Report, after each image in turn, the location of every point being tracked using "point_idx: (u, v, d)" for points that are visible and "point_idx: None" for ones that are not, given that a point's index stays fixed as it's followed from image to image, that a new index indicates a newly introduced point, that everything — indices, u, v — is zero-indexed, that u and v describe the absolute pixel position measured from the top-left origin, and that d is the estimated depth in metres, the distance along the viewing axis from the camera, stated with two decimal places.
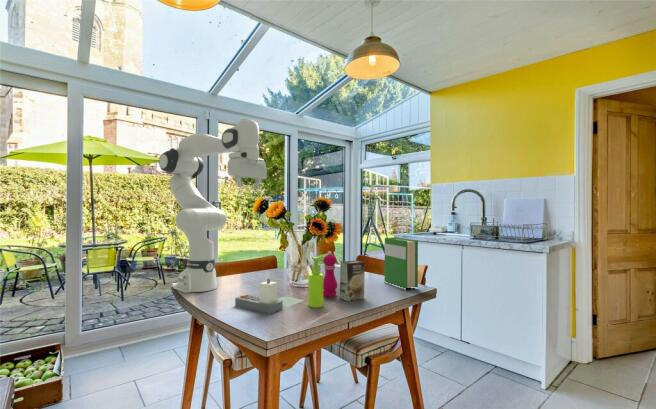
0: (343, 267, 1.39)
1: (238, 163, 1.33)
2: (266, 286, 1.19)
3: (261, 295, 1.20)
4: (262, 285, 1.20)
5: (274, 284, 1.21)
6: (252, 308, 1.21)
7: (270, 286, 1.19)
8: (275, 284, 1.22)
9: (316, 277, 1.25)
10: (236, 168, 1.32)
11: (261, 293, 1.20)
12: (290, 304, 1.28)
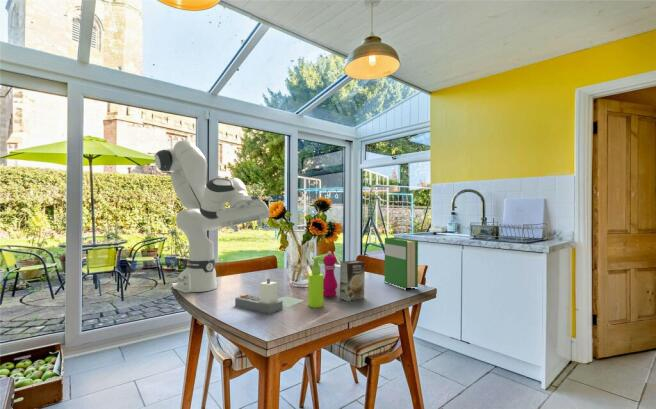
0: (343, 267, 1.39)
1: None
2: (266, 286, 1.19)
3: (261, 295, 1.20)
4: (262, 285, 1.20)
5: (274, 284, 1.21)
6: (252, 308, 1.21)
7: (270, 286, 1.19)
8: (275, 284, 1.22)
9: (316, 277, 1.25)
10: None
11: (261, 293, 1.20)
12: (290, 304, 1.28)
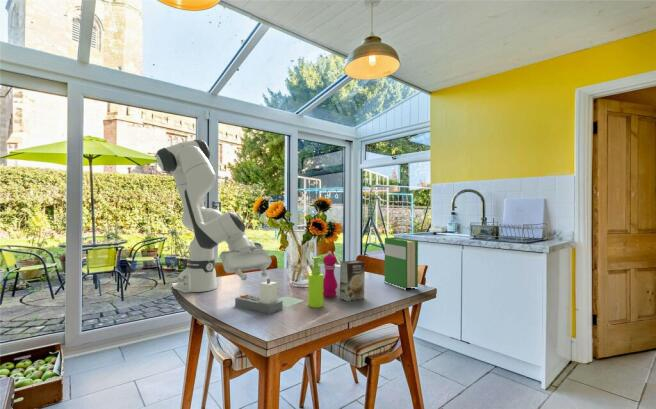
0: (343, 267, 1.39)
1: None
2: (266, 286, 1.19)
3: (261, 295, 1.20)
4: (262, 285, 1.20)
5: (274, 284, 1.21)
6: (252, 308, 1.21)
7: (270, 286, 1.19)
8: (275, 284, 1.22)
9: (316, 277, 1.25)
10: None
11: (261, 293, 1.20)
12: (290, 304, 1.28)
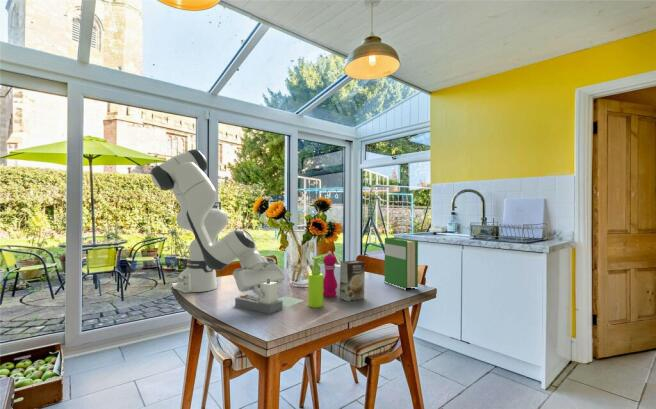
0: (343, 267, 1.39)
1: None
2: (266, 286, 1.19)
3: None
4: (262, 285, 1.20)
5: (274, 284, 1.21)
6: (252, 308, 1.21)
7: (270, 286, 1.19)
8: (275, 284, 1.22)
9: (316, 277, 1.25)
10: None
11: None
12: (290, 304, 1.28)
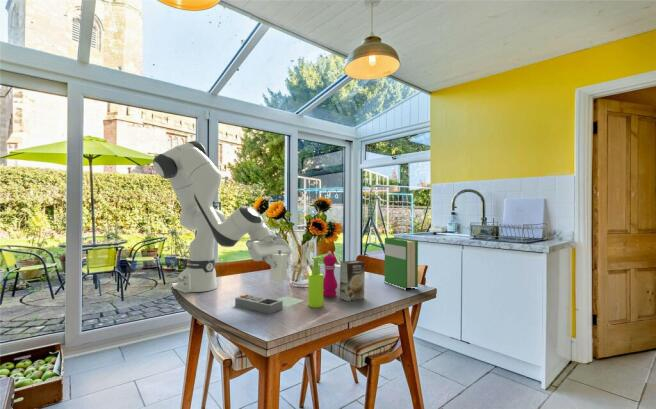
0: (343, 267, 1.39)
1: None
2: (278, 256, 1.25)
3: None
4: (274, 256, 1.26)
5: (285, 255, 1.27)
6: (252, 308, 1.21)
7: (282, 256, 1.25)
8: (286, 255, 1.28)
9: (316, 277, 1.25)
10: None
11: None
12: (290, 304, 1.28)
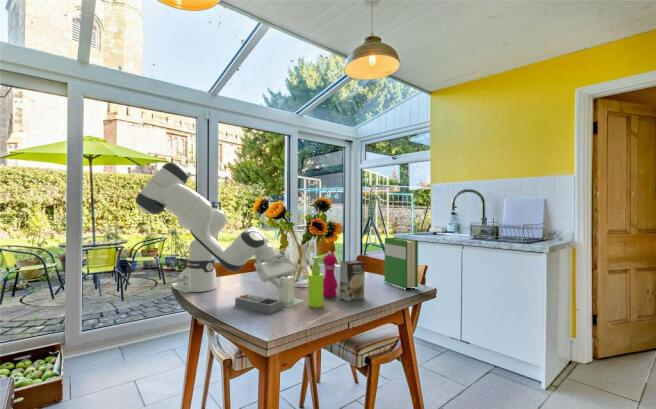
0: (343, 267, 1.39)
1: None
2: (285, 280, 1.30)
3: (280, 288, 1.31)
4: (281, 279, 1.31)
5: (292, 278, 1.32)
6: (252, 308, 1.21)
7: (289, 280, 1.30)
8: (293, 278, 1.33)
9: (316, 277, 1.25)
10: None
11: None
12: (290, 304, 1.28)
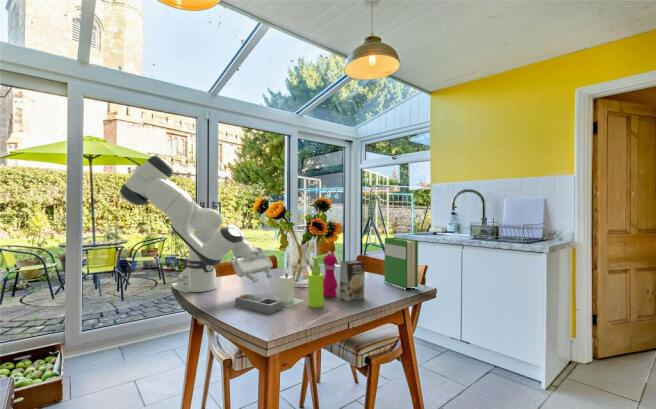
0: (343, 267, 1.39)
1: None
2: (285, 280, 1.30)
3: (280, 288, 1.31)
4: (281, 279, 1.31)
5: (292, 278, 1.32)
6: (252, 308, 1.21)
7: (289, 280, 1.30)
8: (293, 278, 1.33)
9: (316, 277, 1.25)
10: None
11: (280, 286, 1.31)
12: (290, 304, 1.28)
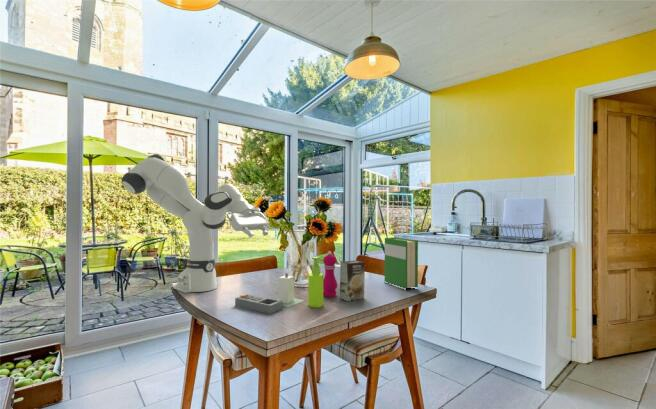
0: (343, 267, 1.39)
1: None
2: (285, 280, 1.30)
3: (280, 288, 1.31)
4: (281, 279, 1.31)
5: (292, 278, 1.32)
6: (252, 308, 1.21)
7: (289, 280, 1.30)
8: (293, 278, 1.33)
9: (316, 277, 1.25)
10: None
11: (280, 286, 1.31)
12: (290, 304, 1.28)
